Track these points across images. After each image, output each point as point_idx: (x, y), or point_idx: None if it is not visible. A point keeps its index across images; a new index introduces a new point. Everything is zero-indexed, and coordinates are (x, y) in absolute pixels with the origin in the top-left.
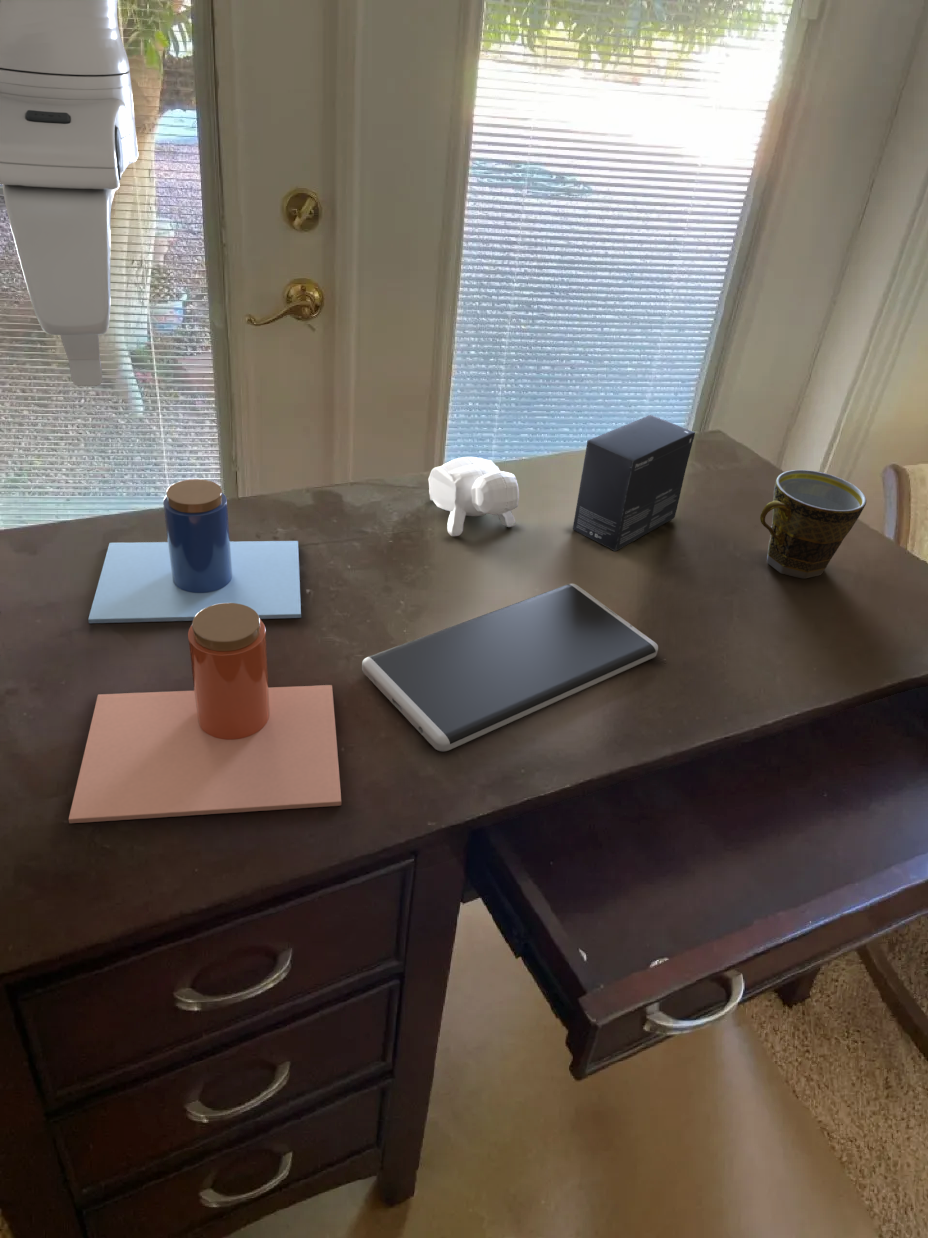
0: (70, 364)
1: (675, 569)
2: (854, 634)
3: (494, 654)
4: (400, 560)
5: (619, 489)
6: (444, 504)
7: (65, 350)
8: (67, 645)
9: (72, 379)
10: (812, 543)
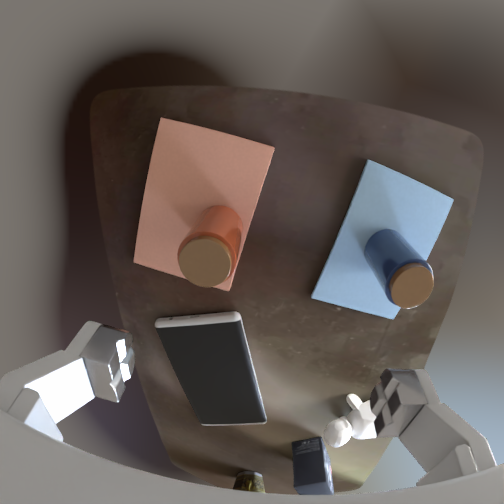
0: (71, 344)
1: (265, 451)
2: (198, 465)
3: (216, 374)
4: (341, 364)
5: (298, 470)
6: (369, 402)
7: (37, 360)
8: (346, 138)
9: (84, 324)
10: (235, 488)
